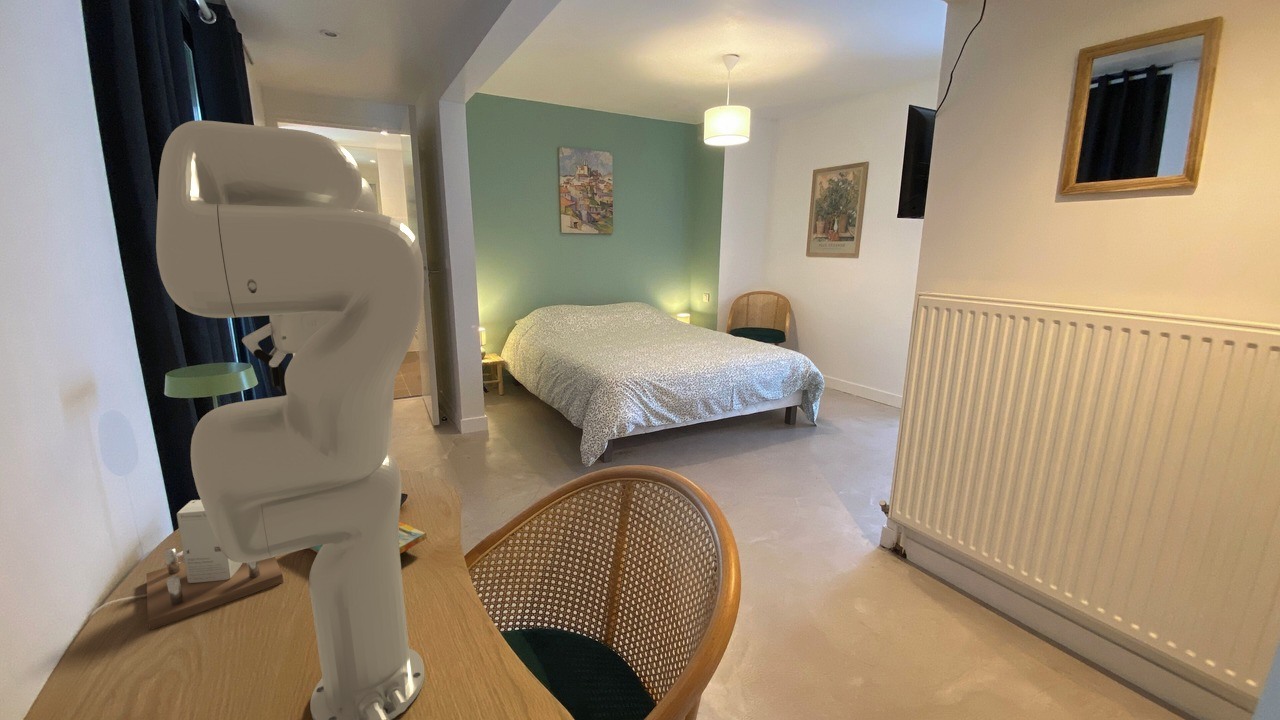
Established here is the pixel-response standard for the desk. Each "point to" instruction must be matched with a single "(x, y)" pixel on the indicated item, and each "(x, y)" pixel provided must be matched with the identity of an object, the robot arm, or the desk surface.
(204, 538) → the skincare box
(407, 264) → the robot arm
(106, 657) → the desk surface
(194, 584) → the post stand
